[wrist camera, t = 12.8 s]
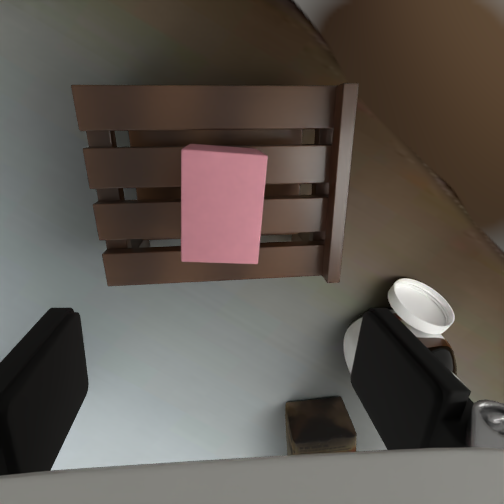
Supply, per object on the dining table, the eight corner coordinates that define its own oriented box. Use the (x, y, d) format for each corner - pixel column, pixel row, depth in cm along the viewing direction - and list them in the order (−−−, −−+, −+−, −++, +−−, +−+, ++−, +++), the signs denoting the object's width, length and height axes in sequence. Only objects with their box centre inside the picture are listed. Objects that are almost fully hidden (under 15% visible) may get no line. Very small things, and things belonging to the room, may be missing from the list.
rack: (134, 247, 34) (101, 295, 24) (112, 96, 29) (60, 82, 19) (306, 240, 35) (339, 282, 26) (313, 96, 30) (359, 83, 21)
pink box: (188, 233, 25) (180, 262, 19) (189, 143, 22) (180, 148, 17) (249, 236, 25) (258, 264, 20) (256, 148, 23) (268, 155, 18)
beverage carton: (287, 495, 50) (297, 547, 44) (281, 398, 43) (292, 444, 37) (338, 487, 51) (355, 537, 44) (340, 390, 44) (361, 433, 37)
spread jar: (339, 365, 42) (381, 448, 31) (330, 288, 38) (376, 353, 27) (429, 345, 42) (502, 421, 32) (431, 267, 38) (516, 322, 27)
